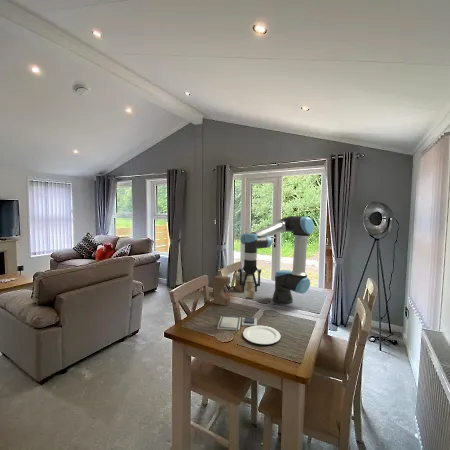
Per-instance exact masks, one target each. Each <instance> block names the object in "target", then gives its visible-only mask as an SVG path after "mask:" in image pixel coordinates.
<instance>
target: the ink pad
mask: <svg viewBox="0 0 450 450" xmlns="http://www.w3.org/2000/svg"><path fill="white" fill-rule="evenodd" d="M251 326H258V318H255V317H248V316H245V317H241V327H251Z"/></svg>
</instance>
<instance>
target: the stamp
mask: <svg viewBox="0 0 450 450" xmlns="http://www.w3.org/2000/svg"><path fill="white" fill-rule="evenodd" d="M254 286H255V284H254V281H248V280H246V285H245V297H244V299H245V300H254Z"/></svg>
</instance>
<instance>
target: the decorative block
mask: <svg viewBox="0 0 450 450" xmlns="http://www.w3.org/2000/svg"><path fill="white" fill-rule="evenodd" d="M230 284H231V277H230V276H225V275H219V274H218V275H217V274H216V275H215V276H214V277H213V304H215V305H219V306H225V307H227V306H229V305H230V304H231V297H230V296H227V294H225V292H224V289H225V288H224V287H225V286H229V285H230Z"/></svg>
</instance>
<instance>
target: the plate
mask: <svg viewBox="0 0 450 450" xmlns="http://www.w3.org/2000/svg"><path fill="white" fill-rule="evenodd" d="M242 337H244V339H245V340H246V341H248V342H250V343H252V344H255V345H256V344H257V345H260V346H261V345H262V346H265V345H266V346H267V345H272V344H276V343H277V342H279V341H280V340H281V337H282V335H281V334H280V332H279V331H278V330H277V329H275V328H273V327H271V326H266V325H257V326H247V327H246V328H244V330H243V331H242Z"/></svg>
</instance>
